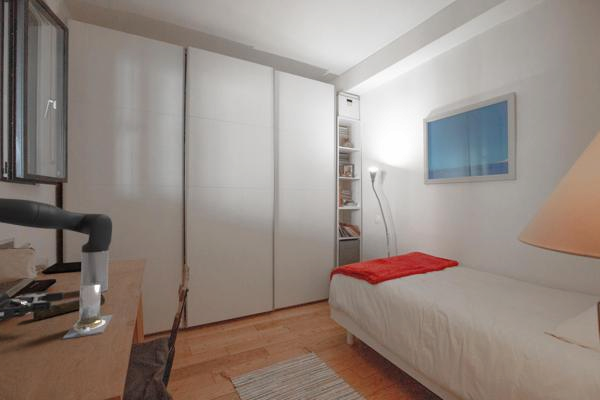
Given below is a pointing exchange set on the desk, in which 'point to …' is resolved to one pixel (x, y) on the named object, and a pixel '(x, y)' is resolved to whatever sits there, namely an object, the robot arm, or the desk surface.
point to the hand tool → (61, 309)
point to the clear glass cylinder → (89, 306)
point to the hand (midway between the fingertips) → (57, 300)
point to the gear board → (88, 329)
